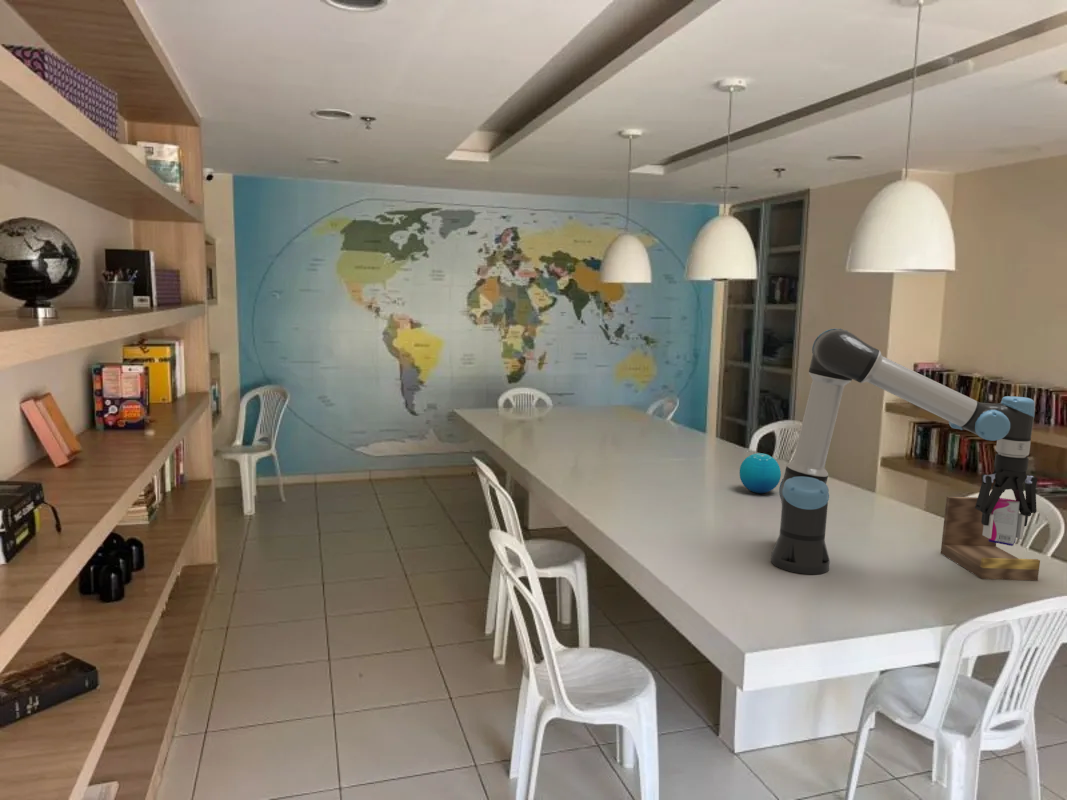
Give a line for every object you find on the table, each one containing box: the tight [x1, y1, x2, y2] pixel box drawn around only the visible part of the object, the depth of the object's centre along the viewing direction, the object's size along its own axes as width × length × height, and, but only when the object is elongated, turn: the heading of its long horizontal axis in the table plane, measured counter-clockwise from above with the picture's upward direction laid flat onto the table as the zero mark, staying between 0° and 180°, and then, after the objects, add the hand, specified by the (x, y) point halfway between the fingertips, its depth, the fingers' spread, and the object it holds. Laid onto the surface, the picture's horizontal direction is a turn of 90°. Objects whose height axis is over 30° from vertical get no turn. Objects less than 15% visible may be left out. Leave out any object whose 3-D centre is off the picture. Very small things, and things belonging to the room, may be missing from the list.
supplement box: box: [989, 497, 1020, 547], centre depth 200 cm, size 6×6×12 cm
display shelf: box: [940, 496, 1041, 581], centre depth 206 cm, size 15×20×17 cm
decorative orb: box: [739, 452, 782, 494], centre depth 279 cm, size 15×15×15 cm
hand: (1002, 537), depth 201 cm, fingers closed on supplement box, 8 cm apart
